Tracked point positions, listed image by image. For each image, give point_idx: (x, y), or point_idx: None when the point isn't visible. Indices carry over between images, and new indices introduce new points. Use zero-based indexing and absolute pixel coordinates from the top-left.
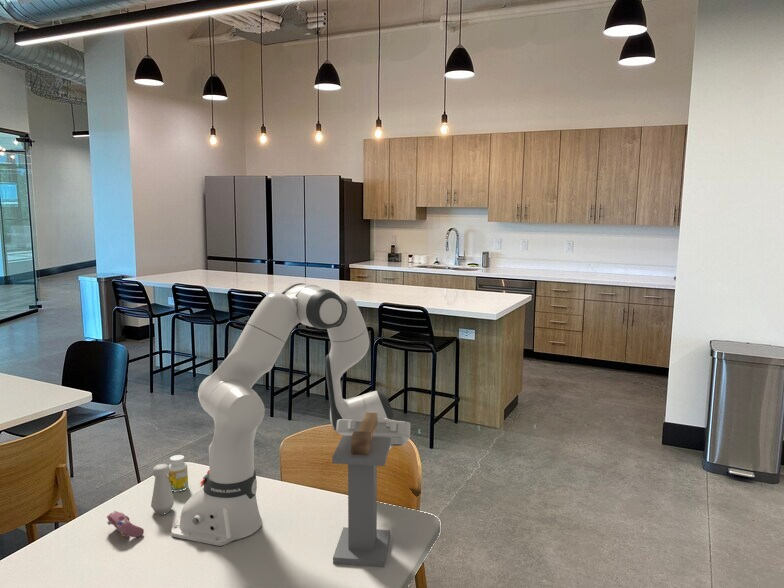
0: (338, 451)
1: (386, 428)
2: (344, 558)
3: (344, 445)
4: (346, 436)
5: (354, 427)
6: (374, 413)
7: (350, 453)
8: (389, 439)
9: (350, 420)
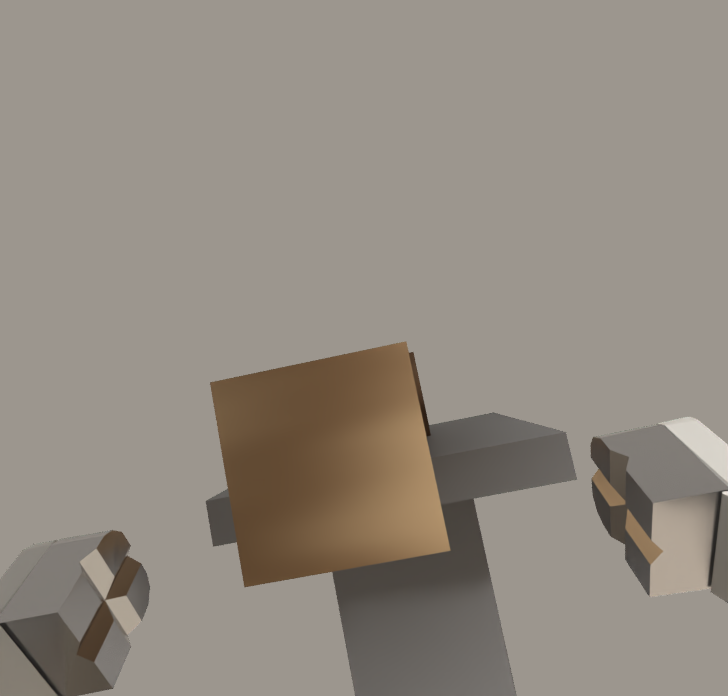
0: (489, 418)
1: (133, 624)
2: None
3: (485, 426)
4: (529, 436)
5: (670, 576)
6: (266, 374)
7: (432, 428)
8: (224, 492)
9: (685, 421)
